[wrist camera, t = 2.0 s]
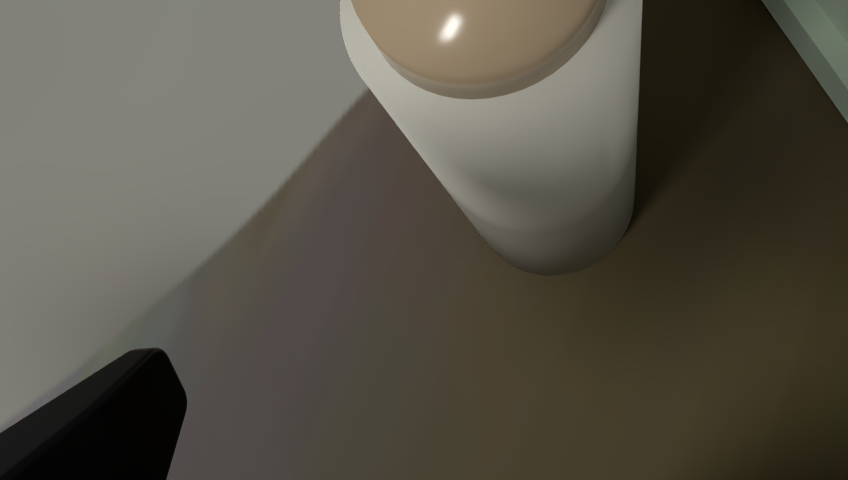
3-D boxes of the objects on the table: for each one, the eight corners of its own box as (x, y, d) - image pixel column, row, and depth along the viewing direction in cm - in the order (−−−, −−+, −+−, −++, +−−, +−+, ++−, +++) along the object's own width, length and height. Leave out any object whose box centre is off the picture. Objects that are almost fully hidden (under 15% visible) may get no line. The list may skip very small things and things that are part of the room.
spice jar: (664, 230, 22) (712, -8, 10) (514, 302, 23) (387, 162, 11) (588, 96, 24) (548, -249, 12) (449, 167, 24) (274, -89, 12)
